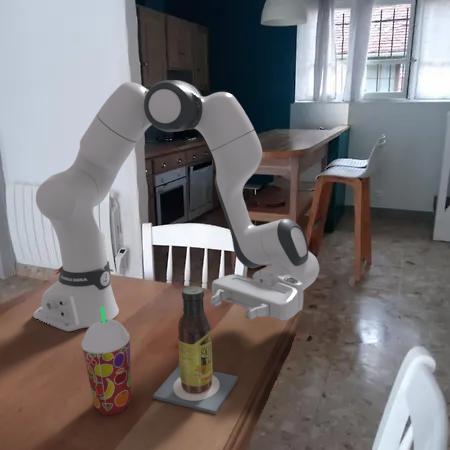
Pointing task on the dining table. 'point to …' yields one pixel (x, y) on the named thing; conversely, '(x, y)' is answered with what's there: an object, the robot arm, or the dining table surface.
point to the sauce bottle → (194, 343)
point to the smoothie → (108, 364)
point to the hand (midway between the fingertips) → (229, 308)
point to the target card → (201, 401)
